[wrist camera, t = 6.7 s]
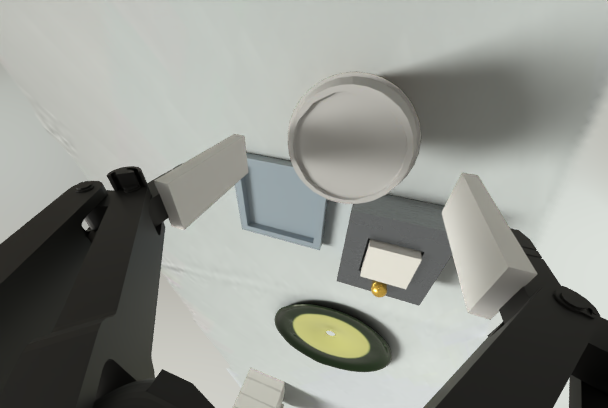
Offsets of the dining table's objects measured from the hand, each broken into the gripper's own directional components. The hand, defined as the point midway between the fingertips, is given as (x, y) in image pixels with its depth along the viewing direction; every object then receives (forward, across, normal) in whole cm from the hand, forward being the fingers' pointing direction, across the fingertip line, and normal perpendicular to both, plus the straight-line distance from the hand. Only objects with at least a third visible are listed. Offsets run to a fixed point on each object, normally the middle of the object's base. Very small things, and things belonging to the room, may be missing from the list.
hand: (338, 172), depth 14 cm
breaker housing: (+14, +7, -16) cm, 23 cm away
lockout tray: (+14, -10, -14) cm, 23 cm away
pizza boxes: (+16, -18, -115) cm, 118 cm away
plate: (+16, +2, -52) cm, 54 cm away
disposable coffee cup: (+14, 0, +1) cm, 14 cm away
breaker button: (+14, +7, -16) cm, 23 cm away
